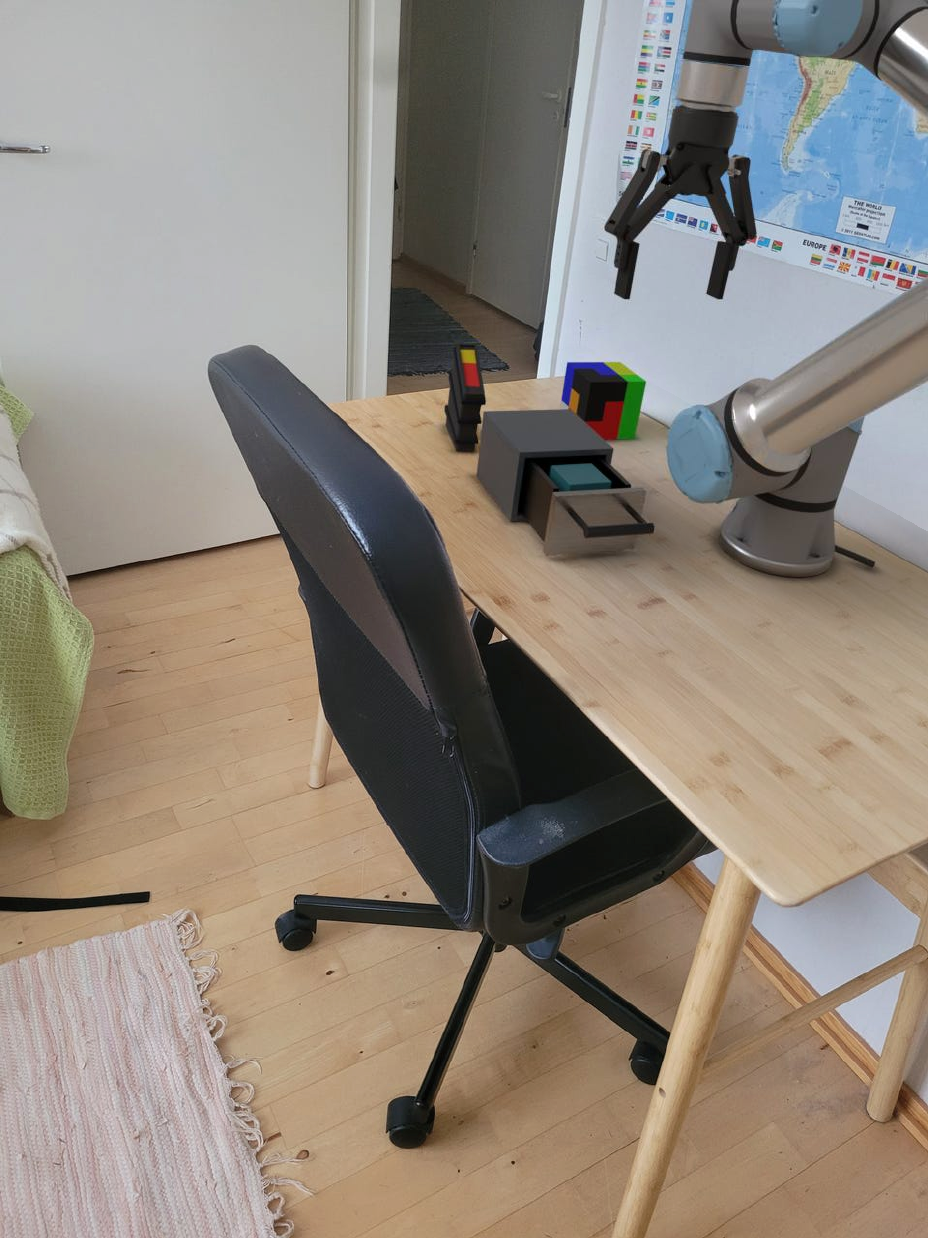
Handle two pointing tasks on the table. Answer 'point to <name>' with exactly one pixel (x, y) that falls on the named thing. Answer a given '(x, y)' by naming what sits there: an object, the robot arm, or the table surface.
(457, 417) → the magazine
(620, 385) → the puzzle toy
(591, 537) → the drawer
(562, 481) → the block
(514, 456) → the cabinet
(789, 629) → the table surface
